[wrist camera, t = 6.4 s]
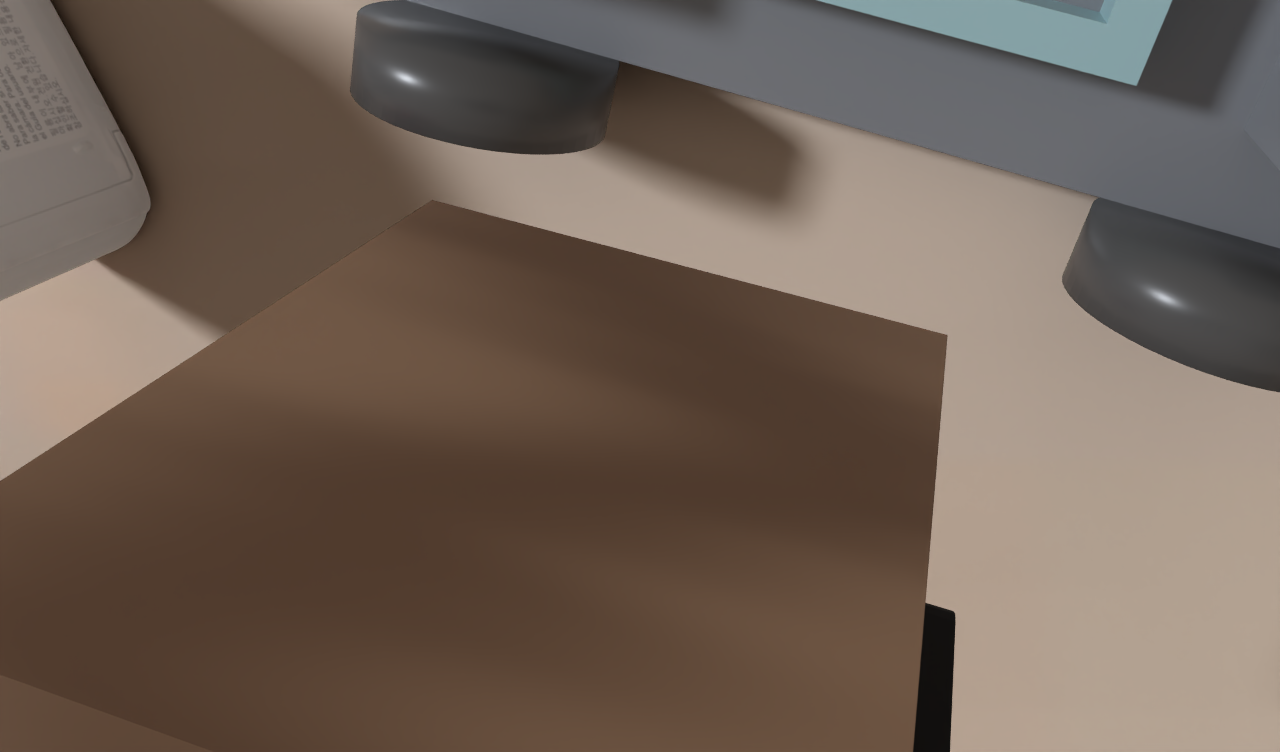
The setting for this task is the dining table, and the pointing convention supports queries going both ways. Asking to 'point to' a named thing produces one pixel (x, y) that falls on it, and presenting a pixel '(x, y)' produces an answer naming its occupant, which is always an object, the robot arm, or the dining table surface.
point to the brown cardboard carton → (488, 519)
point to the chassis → (928, 117)
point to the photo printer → (57, 155)
